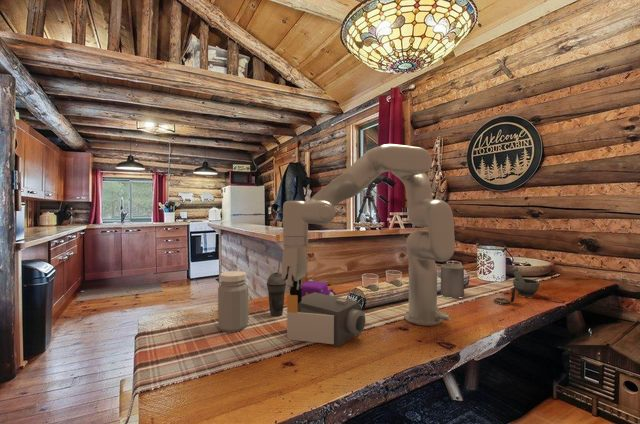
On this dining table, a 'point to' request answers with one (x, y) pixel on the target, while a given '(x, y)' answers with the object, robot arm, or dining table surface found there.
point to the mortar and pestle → (524, 284)
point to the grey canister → (452, 280)
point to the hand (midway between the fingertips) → (295, 301)
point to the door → (308, 324)
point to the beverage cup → (276, 293)
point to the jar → (232, 301)
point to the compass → (505, 301)
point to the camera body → (336, 314)
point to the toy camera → (316, 288)
